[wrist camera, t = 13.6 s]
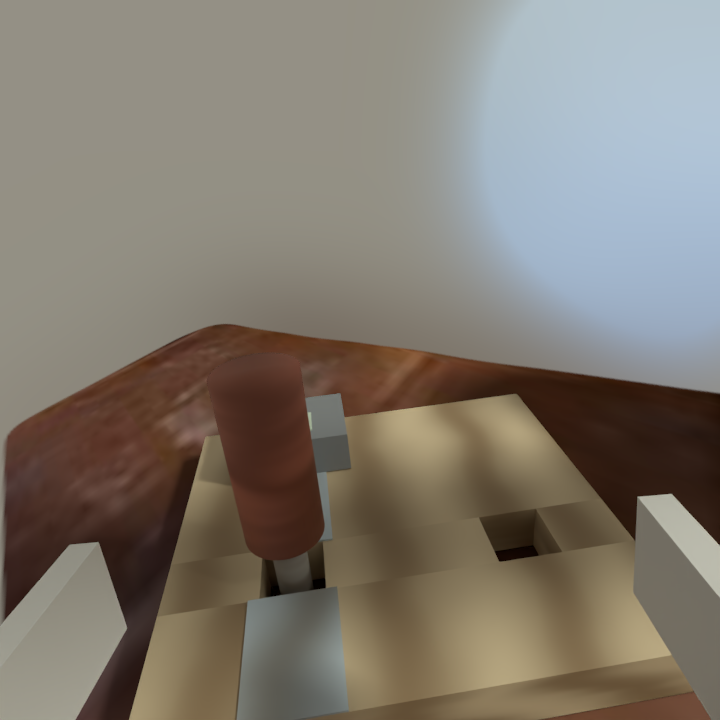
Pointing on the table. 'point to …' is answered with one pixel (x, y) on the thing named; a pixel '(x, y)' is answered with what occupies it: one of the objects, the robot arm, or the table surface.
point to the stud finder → (328, 433)
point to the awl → (270, 460)
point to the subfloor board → (412, 587)
